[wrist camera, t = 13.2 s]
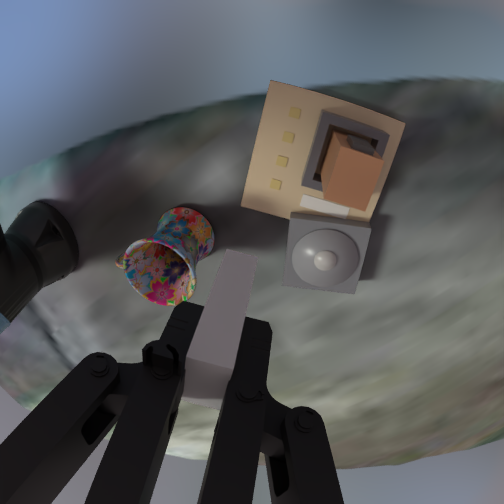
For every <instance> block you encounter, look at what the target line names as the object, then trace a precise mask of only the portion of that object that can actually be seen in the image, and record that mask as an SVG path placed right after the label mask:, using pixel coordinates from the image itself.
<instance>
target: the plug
mask: <svg viewBox="0 0 504 504" xmlns="http://www.w3.org/2000/svg"><path fill="white" fill-rule="evenodd" d="M383 164H384V160H383V159H382V158H381V156H380V155H379V154H378V153H377V152H376V151H375V149H374V148H373V147H372V146H371V144H370V143H369V142H368V141H367V140H366V139H363V138H361V137H358V136H355V135H352V134H349V133H346V132H343V131H340V130H337V129H334V128H332V131H331V134H330V137H329V141H328V144H327V147H326V150H325V154H324V157H323V160H322V163H321V166H320V172H321V180H322V188H323V197H324V199H326V200H329V201H333V202H336V203H339V204H342V205H345V206H349V207H352V208H355V209H358V210H361V211H364V212H365V211H366V209H367V206H368V204H369V201H370V198H371V196H372V193H373V191H374V188H375V185H376V183H377V180H378V178H379V175H380V172H381V169H382V167H383Z"/></svg>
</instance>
